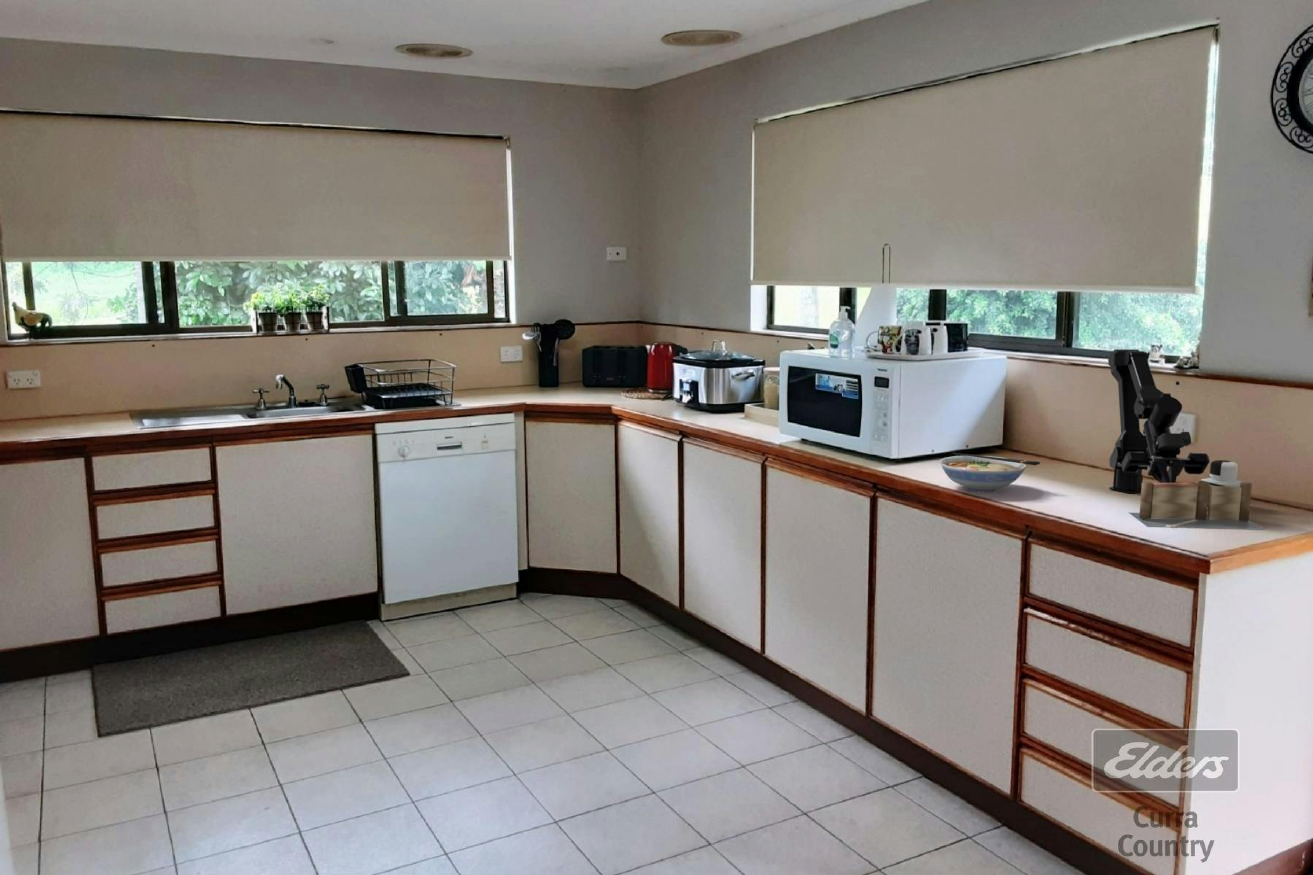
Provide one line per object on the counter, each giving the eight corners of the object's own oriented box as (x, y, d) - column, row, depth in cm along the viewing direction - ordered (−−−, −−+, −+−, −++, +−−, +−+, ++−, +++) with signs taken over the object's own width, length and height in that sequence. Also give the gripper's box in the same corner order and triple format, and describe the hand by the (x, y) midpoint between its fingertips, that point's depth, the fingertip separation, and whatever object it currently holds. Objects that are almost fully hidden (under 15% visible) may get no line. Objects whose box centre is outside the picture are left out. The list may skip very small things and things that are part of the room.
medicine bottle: (1197, 506, 261) (1201, 459, 259) (1218, 503, 264) (1222, 457, 262) (1222, 512, 255) (1226, 464, 253) (1243, 509, 257) (1247, 462, 255)
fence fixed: (1197, 520, 246) (1200, 483, 244) (1193, 517, 248) (1196, 481, 246) (1250, 521, 244) (1253, 484, 243) (1245, 518, 246) (1249, 482, 245)
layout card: (1147, 528, 240) (1147, 526, 240) (1128, 514, 254) (1128, 512, 253) (1266, 531, 236) (1266, 529, 236) (1240, 516, 250) (1240, 514, 250)
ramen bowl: (918, 488, 283) (919, 459, 282) (960, 476, 299) (962, 448, 298) (1003, 503, 266) (1005, 472, 264) (1043, 489, 281) (1045, 460, 280)
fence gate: (1191, 516, 248) (1194, 481, 246) (1196, 518, 245) (1199, 483, 244) (1137, 516, 248) (1140, 481, 246) (1142, 519, 245) (1144, 483, 244)
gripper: (1128, 419, 250) (1140, 472, 241) (1210, 420, 248) (1224, 474, 239) (1116, 445, 259) (1127, 497, 250) (1194, 446, 257) (1208, 499, 248)
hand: (1171, 491), depth 246 cm, fingers closed, pressing on fence gate
